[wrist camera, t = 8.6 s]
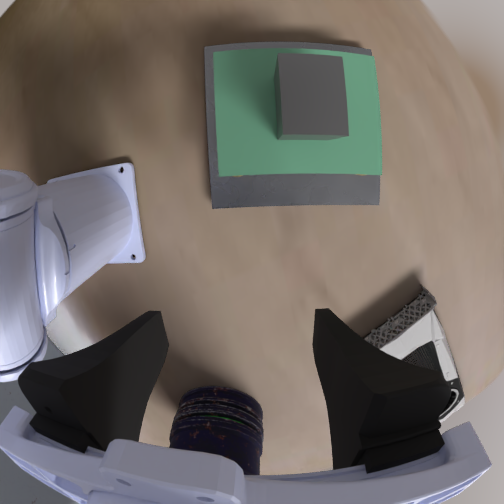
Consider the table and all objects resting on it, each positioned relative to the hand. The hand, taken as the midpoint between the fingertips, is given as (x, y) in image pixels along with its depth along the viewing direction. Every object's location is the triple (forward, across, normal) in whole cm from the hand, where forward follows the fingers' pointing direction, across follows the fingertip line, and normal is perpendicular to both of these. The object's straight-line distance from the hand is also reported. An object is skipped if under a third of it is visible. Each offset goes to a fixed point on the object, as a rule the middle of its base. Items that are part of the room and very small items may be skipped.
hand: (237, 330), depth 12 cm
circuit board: (+7, -4, -10) cm, 13 cm away
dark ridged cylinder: (+10, +4, +19) cm, 22 cm away
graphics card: (+10, -19, +16) cm, 27 cm away
